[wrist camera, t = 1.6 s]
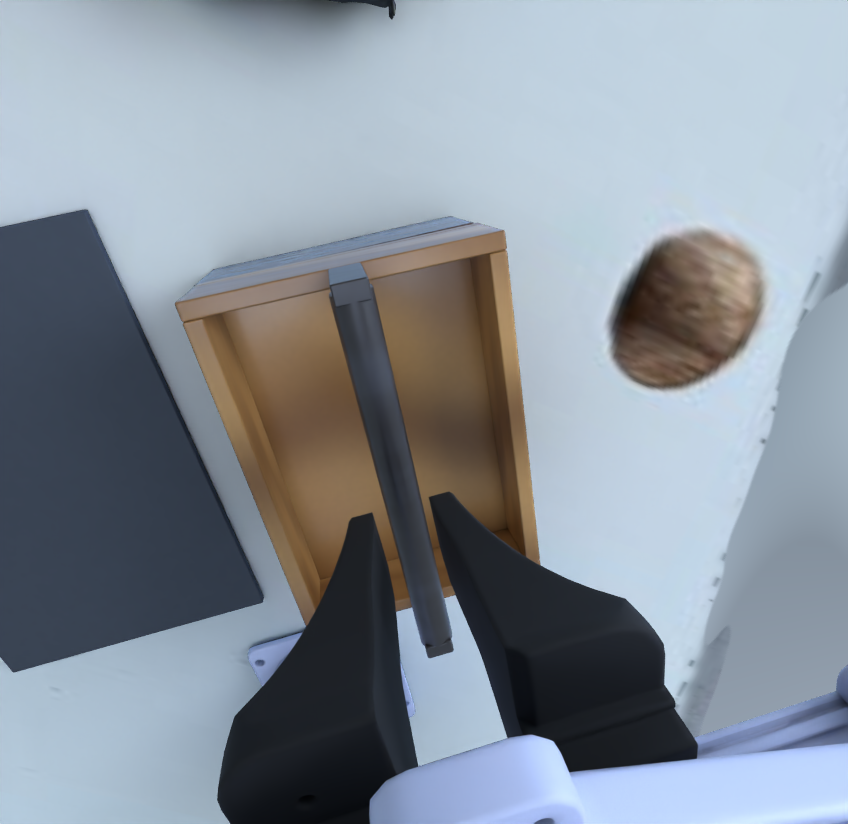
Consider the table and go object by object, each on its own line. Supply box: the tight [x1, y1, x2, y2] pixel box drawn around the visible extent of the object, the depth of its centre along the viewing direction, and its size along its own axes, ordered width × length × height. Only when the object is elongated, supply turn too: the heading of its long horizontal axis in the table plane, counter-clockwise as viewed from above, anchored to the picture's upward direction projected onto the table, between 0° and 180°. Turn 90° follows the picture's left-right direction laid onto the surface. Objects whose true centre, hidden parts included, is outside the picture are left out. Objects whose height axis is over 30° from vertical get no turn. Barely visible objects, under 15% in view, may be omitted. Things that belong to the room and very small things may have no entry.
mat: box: [0, 210, 264, 672], centre depth 22 cm, size 20×13×1 cm, turn 11°
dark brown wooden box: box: [194, 216, 474, 286], centre depth 22 cm, size 14×10×4 cm
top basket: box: [175, 223, 540, 658], centre depth 18 cm, size 14×10×6 cm
